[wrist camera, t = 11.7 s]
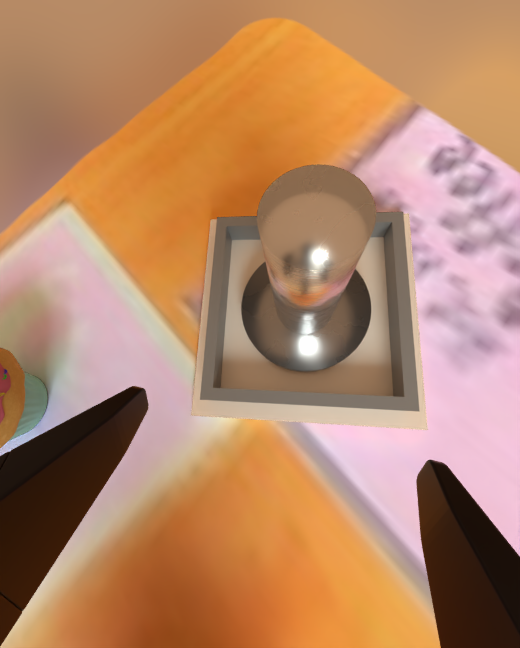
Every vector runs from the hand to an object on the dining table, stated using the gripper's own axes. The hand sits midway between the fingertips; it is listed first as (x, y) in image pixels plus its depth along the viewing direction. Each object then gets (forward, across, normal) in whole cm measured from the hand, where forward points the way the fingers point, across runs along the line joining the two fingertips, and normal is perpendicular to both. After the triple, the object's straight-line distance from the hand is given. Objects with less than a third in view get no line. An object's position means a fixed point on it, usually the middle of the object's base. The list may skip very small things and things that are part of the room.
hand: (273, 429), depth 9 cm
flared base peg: (+13, 0, +3) cm, 13 cm away
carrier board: (+14, 0, +3) cm, 14 cm away
